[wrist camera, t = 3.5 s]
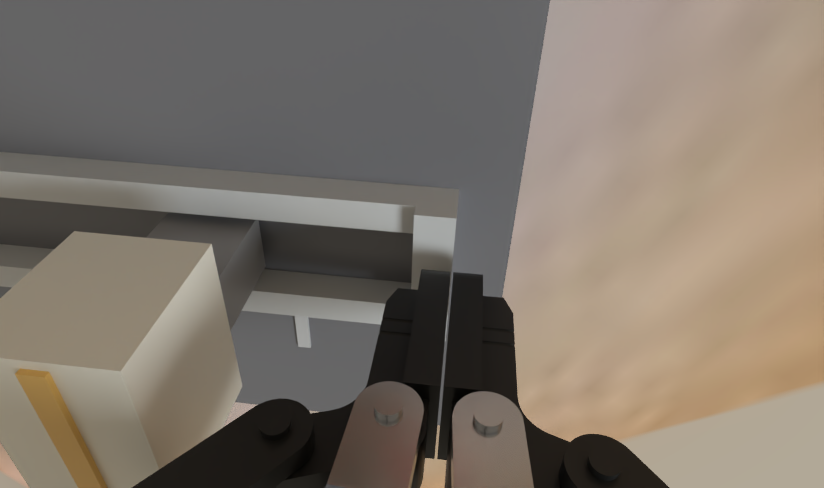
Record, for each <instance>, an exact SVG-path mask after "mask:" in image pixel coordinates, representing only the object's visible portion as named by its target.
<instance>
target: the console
mask: <svg viewBox="0 0 824 488" xmlns="http://www.w3.org/2000/svg"><path fill="white" fill-rule="evenodd" d="M549 3H550V0H0V298H1V297H2V296H4V295H5V294H6V293H7V292H8V291H9V290H10V289H11V288H12V287H13V286H15V285H16V284H17V283H18V282H19V281H20V280H21V279H22V278H23V277H24V276H26V275H27V274H28V273H29V272H30V271H31V270H32V269H33V268H34V267H35V266H37V265H38V264H39V263H40V262H41V261H42V260H43V259H44V258H45V257H46V256H48V255H49V254H50V253H51V252H52V251H53V250H54V249H55V248H56V247H57V246H59V245H60V244H61V243H62V242H63V241H64V240H65V239H66V238H67V237H68V236H70V235H71V234H72V233H73V232H74V231H78V232H89V233H100V234H111V235H121V236H132V237H143V238H146V237H147V236H148V235H149V234H150V233H151V232H152V230H153V229H154V228H155V227H156V226H157V225H158V224H159V223H160V221H161V220H162V219H163V218H164V217H165V216H166V215H167V214H168V213H169V212H174V213H185V214H196V215H208V216H219V217H230V218H242V219H253V220H259V226H260V233H261V239H262V246H263V252H264V259H265V265H266V267H265V268H264V270H263V272H262V274H261V276H260V278H259V280H258V281H257V283H256V285H255V287H254V289H253V291H252V292H251V294H250V296H249V298H248V300H247V302H246V304H245V305H244V307H243V309H242V311H241V313H240V315H239V316H238V318H237V320H236V322H235V324H234V326H233V328H232V329H231V336H232V340H233V345H234V350H235V354H236V359H237V363H238V368H239V373H240V377H241V382H242V388H241V390H240V392H239V394H238V397H237V399H236V401H235V402H240V403H249V404H258V405H259V404H261V403H263V402H265V401H268V400H272V399H279V398H282V399H291V400H294V401H297V402H299V403H301V404H302V405H304V406H305V407H306V408H307V409H308V410H311V411H319V412H324V411H329V410H334V409H338V408H341V407H344V406H346V405H348V404H350V403H351V402H353V401H354V400H356V398H357V397H358V395H359V394H360V393H361V392H362V391H363V390H364V389H365V387H366V385H367V382H368V378H369V374H370V370H371V365H372V361H373V356H374V352H375V348H376V343H377V339H378V335H379V330H380V326H381V322H382V317H383V313H384V308H385V304H386V301H387V300H388V299H389V298H390V296H391V295H392V294H393V293H394V292H395V291H396V290H397V288H403V289H414V290H418V286H419V280H420V274H421V269H425V270H436V271H447V272H451V275H450V287H449V298H448V310H447V322H446V333H445V344H444V356H443V367H442V378H441V389H440V400H439V411H438V423H437V425H440V422H441V410H442V398H443V386H444V375H445V363H446V351H447V339H448V328H449V316H450V305H451V294H452V282H453V272H460V273H471V274H482V275H483V296H491V297H501V298H502V294H503V288H504V281H505V275H506V269H507V263H508V257H509V251H510V244H511V238H512V232H513V226H514V220H515V213H516V207H517V201H518V195H519V189H520V182H521V176H522V170H523V164H524V158H525V152H526V145H527V139H528V133H529V127H530V121H531V114H532V108H533V102H534V96H535V90H536V84H537V77H538V71H539V65H540V59H541V53H542V46H543V40H544V34H545V28H546V22H547V16H548V9H549Z"/></svg>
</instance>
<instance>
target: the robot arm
mask: <svg viewBox="0 0 824 488" xmlns="http://www.w3.org/2000/svg"><path fill="white" fill-rule="evenodd" d="M450 275H451V272H447V271H436V270H425V269H421V274H420V280H419V286H418V290H414V289H403V288H397V290H396V291H395V292H394V293H393V294H392V295H391V296H390V298H389V299H388V300H387V301H386V304H385V308H384V313H383V317H382V322H381V326H380V330H379V335H378V339H377V343H376V348H375V352H374V356H373V361H372V365H371V370H370V374H369V378H368V382H367V385H366V387H365V389H364V390H363V391H362V392H361V393H360V394H359V395H358V397H357V398H356V400H354V401H353V402H351V403H350V404H348V405H346V406H344V407H341V408H338V409H334V410H329V411H324V412H318V413H312V414H310V412H309V410H308V409H307V408H306V407H305V406H304V405H302V404H301V403H299V402H297V401H294V400H291V399H282V398H279V399H272V400H268V401H265V402H263V403H261V404H259V405H257V406H255V407H254V408H252V409H251V410H249V411H248V412H246V413H245V414H243V415H242V416H240V417H238V418H237V419H235V420H234V421H232V422H231V423H229V424H228V425H226V426H225V427H223V428H222V429H220V430H219V431H217V432H216V433H214V434H213V435H211V436H209V437H208V438H206V439H205V440H203V441H202V442H200V443H199V444H197V445H196V446H194V447H193V448H191V449H190V450H188V451H187V452H185V453H184V454H182V455H181V456H179V457H177V458H176V459H174V460H173V461H171V462H170V463H168V464H167V465H165V466H164V467H162V468H161V469H159V470H158V471H156V472H155V473H153V474H152V475H150V476H148V477H147V478H145V479H144V480H142V481H141V482H139V483H138V484H136V485H135V486H133V487H132V488H420V486H421V484H422V480H423V472H424V462H425V458H432V459H434V456H435V445H436V434H437V423H438V411H439V400H440V389H441V378H442V367H443V356H444V344H445V333H446V322H447V310H448V298H449V287H450ZM514 344H515V342H514V323H513V312H512V311H511V309H510V308H509V306H508V304H507V303H506V301H505V300H504V298H501V297H491V296H483V275H482V274H471V273H460V272H453V282H452V294H451V305H450V316H449V328H448V339H447V351H446V363H445V375H444V386H443V398H442V410H441V422H440V434H439V446H438V458H437V459H443V460H447V463H446V477H445V488H669V487H668V486H667V485H666V484H665V483H664V482H663V481H662V480H661V479H660V478H659V477H658V476H657V475H655V474H654V473H653V472H652V471H651V470H650V469H649V468H648V467H647V466H646V465H645V464H644V463H643V462H642V461H641V460H640V459H639V458H638V457H637V456H636V455H635V454H633V453H632V452H631V451H630V450H629V449H628V448H627V447H626V446H624V445H623V444H622V443H620V442H619V441H617V440H615V439H613V438H610V437H607V436H604V435H599V434H586V435H582V436H579V437H577V438H575V439H574V440H572V441H571V442H568V441H566V440H563V439H561V438H558V437H556V436H553V435H551V434H548V433H546V432H544V431H542V430H541V429H539V428H537V427H536V426H535V425H534V424H532V423H531V422H530V421H529V420H528V419H527V418H526V416H525V415H524V414H523V412H522V410H521V408H520V406H519V403H518V397H517V379H516V360H515V347H514Z"/></svg>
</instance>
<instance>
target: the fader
mask: <svg viewBox="0 0 824 488" xmlns="http://www.w3.org/2000/svg"><path fill="white" fill-rule="evenodd" d="M265 267H266V265H265V259H264V252H263V246H262V239H261V233H260V226H259V220H253V219H242V218H230V217H219V216H208V215H196V214H185V213H174V212H169V213H168V214H167V215H166V216H165V217H164V218H163V219H162V220H161V221H160V223H159V224H158V225H157V226H156V227H155V228H154V229H153V230H152V232H151V233H150V234H149V235H148V236H147V237H146V238H143V237H132V236H121V235H111V234H100V233H89V232H78V231H74V232H73V233H72V234H71V235H70V236H68V237H67V238H66V239H65V240H64V241H63V242H62V243H61V244H60V245H59V246H57V247H56V248H55V249H54V250H53V251H52V252H51V253H50V254H49V255H48V256H46V257H45V258H44V259H43V260H42V261H41V262H40V263H39V264H38V265H37V266H35V267H34V268H33V269H32V270H31V271H30V272H29V273H28V274H27V275H26V276H24V277H23V278H22V279H21V280H20V281H19V282H18V283H17V284H16V285H15V286H13V287H12V288H11V289H10V290H9V291H8V292H7V293H6V294H5V295H4V296H2V297H1V298H0V442H1V444H2V446H3V447H4V449H5V450H6V452H7V453H8V455H9V456H10V458H11V459H12V461H13V463H14V464H15V466H16V467H17V469H18V470H19V472H20V473H21V475H22V476H23V478H24V480H25V481H26V483H27V484H28V486H29V487H30V488H132V487H133V486H135V485H136V484H138V483H139V482H141V481H142V480H144V479H145V478H147V477H148V476H150V475H152V474H153V473H155V472H156V471H158V470H159V469H161V468H162V467H164V466H165V465H167V464H168V463H170V462H171V461H173V460H174V459H176V458H177V457H179V456H181V455H182V454H184V453H185V452H187V451H188V450H190V449H191V448H193V447H194V446H196V445H197V444H199V443H200V442H202V441H203V440H205V439H206V438H208V437H209V436H211V435H213V434H214V433H216V432H217V431H219V430H220V429H222V428H223V427H224V425H225V423H226V420H227V418H228V416H229V414H230V412H231V410H232V407H233V405H234V403H235V401H236V399H237V397H238V394H239V392H240V390H241V388H242V382H241V377H240V373H239V368H238V363H237V359H236V354H235V350H234V345H233V340H232V336H231V329H232V328H233V326H234V324H235V322H236V320H237V318H238V316H239V315H240V313H241V311H242V309H243V307H244V305H245V304H246V302H247V300H248V298H249V296H250V294H251V292H252V291H253V289H254V287H255V285H256V283H257V281H258V280H259V278H260V276H261V274H262V272H263V270H264V268H265Z"/></svg>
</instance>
